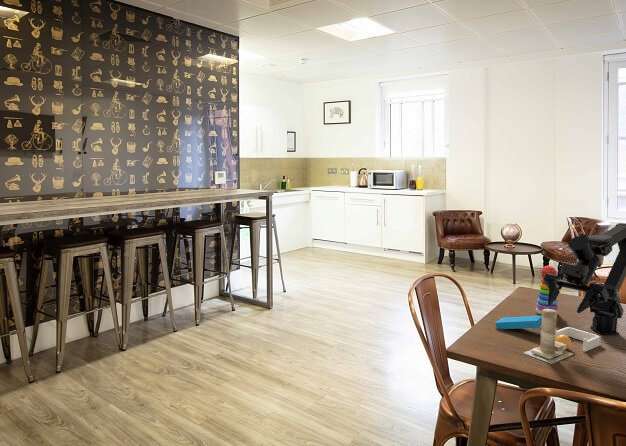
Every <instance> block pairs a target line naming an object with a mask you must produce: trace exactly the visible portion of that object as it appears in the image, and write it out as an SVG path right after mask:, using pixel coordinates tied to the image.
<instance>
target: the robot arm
mask: <svg viewBox="0 0 626 446" xmlns="http://www.w3.org/2000/svg"><path fill="white" fill-rule="evenodd" d="M616 244H617V246H618V254H617V255H616V257H615V260H614V261H613V263H612V266H611V268H610V271H609V272H608V275H607V277H606V279H605V281H604V282H603V284H600V283H596V282H593V280H594V277H593V275H594V274H595V272H596V270H597V269H598V268H601V267H602V263H601V259H600V257H599V256H601V257H607V256H609V255H610V253H611V252H613V247H614V246H615V245H616ZM567 246H568V248H569V249H570V251H571V253H572V255H573V257H574V258H575V260H577V261H576V263H575V264H571V263H567V262H566V263H565V262H563V263H562V266H561V269H560V274H563V278H564V279H566V280H562V279H561V278H560V276H559V275H558V274H556V275H554V274H550V273H547V274H545V275H544V277H543V276H542V278H543V280H544V282H545V284H546V285H547V287H548V288H549V297H548V305H551V304H552V303H553V302H554V300H555V299H556V297H557V298H558V296H559V294H560V293H561V291H560V290H562V288H567V289H571V290H575V291H578V292H584V293H585V294H584V296H583V299H582V300H581V302H580V303H579V306H578V308H577V310H576V313H577V314H581V313H582V312H584V311H585V310H587V309H589V312H590V313H594V316H593V317H592V324H591V325H590V329H592V330H593V331H594V332H597V333H598V334H599V335H620V332H619V331H618V329H617V328H618V327H617V326H618V319H622V317H623V315H624V308H623V306H622V304H621V297H620V289H621V287H622V285H623V283H624V281H625V279H626V223H623V222H618V223H616V225H615V226H613V227H611V228H610V229H608V230H607V231H605V232H603V233H602V234H592V235H588V234H586V233H579V236H574V237H573V238H571V239H569V242H568V245H567ZM590 281H591V282H590ZM556 300H557V299H556Z"/></svg>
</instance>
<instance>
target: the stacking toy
mask: <svg viewBox="0 0 626 446" xmlns="http://www.w3.org/2000/svg"><path fill="white" fill-rule="evenodd" d="M540 272H541V276H542V278H541V279H540V281H541V283H540V284H539V289H538V292H539V293H538V295H537V296H538V297H537V300H536V301H537V303H535V305H536V307H535V313H536V314H538V315H540V316H542V310H543V309H552V310H555V311H557V315H558V314H559V309H558V308H559V306H558V300H557V299H558V296H557V297H556V299H555V300H554V302H553V303H552V304H551V305H548V297H549V288H548V287H547V285H546V284H545V282H544V280H543V277H544V275H545V274H547V273H550V274H554V275H557V274H556V273H557V270H556V268H555V267H554V266H552V265H545V266H543V267H542V268H541V271H540Z"/></svg>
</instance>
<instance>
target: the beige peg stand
mask: <svg viewBox="0 0 626 446" xmlns="http://www.w3.org/2000/svg"><path fill="white" fill-rule="evenodd" d="M541 316H542V325H541V326H540V328H541V332H540V339H539V340H540V341H539V346H537V347H534V348H531V349H530V350H531V352H532V353H535V354H537V355H540V356H543V357H545V358H548V359H551V358H553V357H556V356H558V355H561V354H563V352H565V351H566V350H567V349H566V344H563V343H560V342H557V341H555V334H556V329H557V320H558V317H557V316H558V314H557V311H555V310H552V309H543V310H542V315H541Z"/></svg>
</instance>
